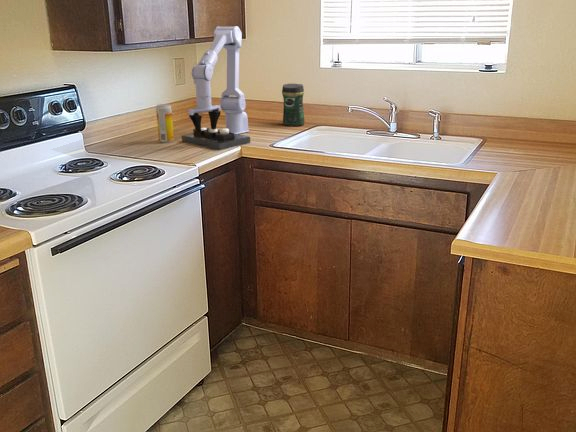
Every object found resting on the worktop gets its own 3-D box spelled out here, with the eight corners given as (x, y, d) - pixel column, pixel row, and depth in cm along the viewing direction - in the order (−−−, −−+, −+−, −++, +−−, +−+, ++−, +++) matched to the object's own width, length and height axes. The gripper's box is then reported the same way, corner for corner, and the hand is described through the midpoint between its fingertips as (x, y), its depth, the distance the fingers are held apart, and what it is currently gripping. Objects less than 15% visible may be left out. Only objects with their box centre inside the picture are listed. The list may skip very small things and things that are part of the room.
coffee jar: (306, 123, 269) (306, 83, 263) (299, 127, 262) (298, 85, 256) (288, 122, 273) (287, 82, 267) (280, 125, 267) (279, 84, 260)
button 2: (214, 132, 237) (213, 128, 237) (219, 134, 235) (219, 129, 234) (207, 134, 235) (206, 129, 234) (212, 135, 233) (212, 130, 232)
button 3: (225, 132, 233) (224, 128, 232) (230, 134, 230) (230, 129, 230) (218, 134, 230) (217, 129, 229) (223, 135, 228) (223, 130, 227)
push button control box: (208, 134, 252) (208, 123, 250) (250, 142, 234) (249, 131, 233) (178, 140, 241) (177, 129, 240) (219, 150, 224) (218, 138, 222)
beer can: (176, 139, 243) (172, 103, 237) (171, 143, 237) (168, 106, 232) (161, 139, 243) (158, 103, 238) (157, 143, 238) (153, 106, 232)
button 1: (203, 131, 242) (203, 127, 242) (208, 133, 240) (208, 128, 239) (196, 133, 240) (196, 128, 239) (201, 134, 237) (201, 129, 237)
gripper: (211, 93, 235) (213, 126, 240) (182, 97, 225) (185, 132, 230) (223, 94, 230) (225, 128, 235) (193, 99, 221) (196, 134, 225)
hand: (206, 130), depth 232 cm, fingers open, 7 cm apart
